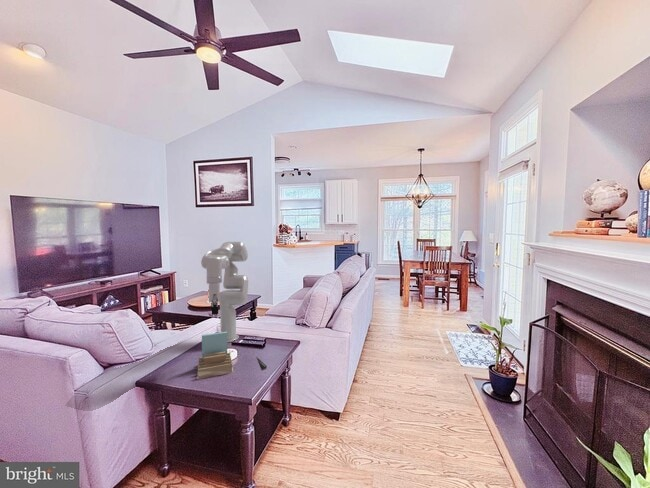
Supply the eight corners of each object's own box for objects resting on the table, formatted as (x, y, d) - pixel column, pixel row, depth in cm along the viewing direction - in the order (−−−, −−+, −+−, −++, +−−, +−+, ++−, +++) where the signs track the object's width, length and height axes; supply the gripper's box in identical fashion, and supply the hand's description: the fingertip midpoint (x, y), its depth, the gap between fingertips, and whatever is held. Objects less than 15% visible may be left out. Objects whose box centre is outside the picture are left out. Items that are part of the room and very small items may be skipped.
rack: (198, 367, 142) (197, 357, 142) (230, 361, 148) (230, 351, 148) (197, 381, 128) (196, 370, 128) (233, 374, 134) (233, 364, 134)
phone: (255, 356, 153) (267, 366, 141) (255, 358, 153) (267, 368, 141) (241, 360, 148) (252, 371, 136) (241, 362, 148) (252, 373, 136)
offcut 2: (204, 371, 135) (204, 357, 135) (225, 367, 139) (225, 353, 139) (204, 372, 134) (204, 358, 134) (226, 368, 138) (225, 355, 138)
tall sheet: (202, 365, 141) (201, 334, 140) (227, 361, 146) (226, 331, 145) (202, 367, 139) (201, 335, 139) (227, 362, 144) (227, 332, 143)
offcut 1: (204, 368, 138) (204, 354, 138) (225, 364, 142) (225, 351, 142) (204, 369, 137) (204, 355, 137) (225, 365, 141) (225, 352, 141)
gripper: (206, 278, 153) (206, 308, 154) (206, 282, 137) (207, 317, 138) (221, 277, 156) (221, 307, 157) (222, 282, 140) (223, 315, 141)
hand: (214, 311), depth 147 cm, fingers open, 9 cm apart
